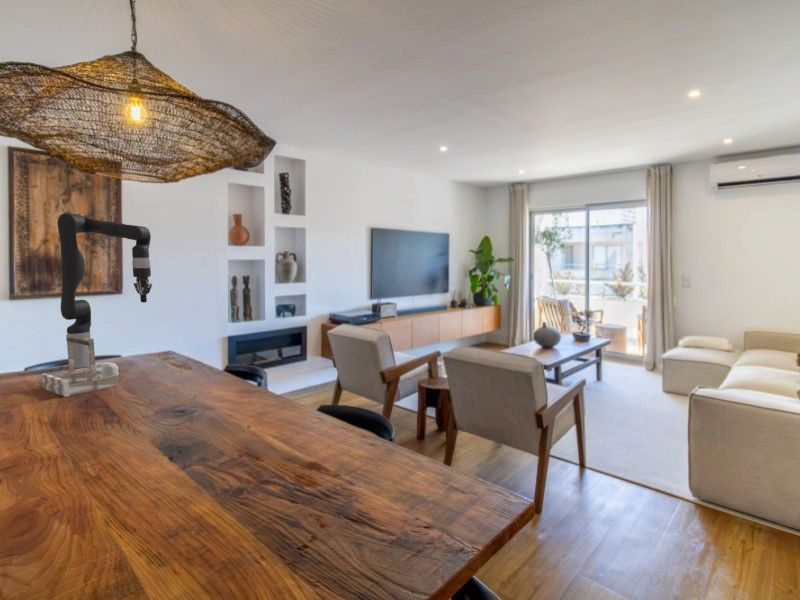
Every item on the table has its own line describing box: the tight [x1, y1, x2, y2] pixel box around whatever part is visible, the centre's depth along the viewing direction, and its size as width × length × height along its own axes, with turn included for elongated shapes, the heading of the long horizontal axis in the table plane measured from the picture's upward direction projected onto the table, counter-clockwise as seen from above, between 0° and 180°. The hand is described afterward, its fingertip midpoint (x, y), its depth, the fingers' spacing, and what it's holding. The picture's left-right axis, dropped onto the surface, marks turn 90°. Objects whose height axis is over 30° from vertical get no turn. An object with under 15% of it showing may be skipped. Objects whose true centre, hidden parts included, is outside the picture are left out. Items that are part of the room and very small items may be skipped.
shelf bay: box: [41, 334, 120, 398], centre depth 183 cm, size 22×20×21 cm
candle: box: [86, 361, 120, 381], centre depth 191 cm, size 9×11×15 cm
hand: (143, 302), depth 216 cm, fingers closed
